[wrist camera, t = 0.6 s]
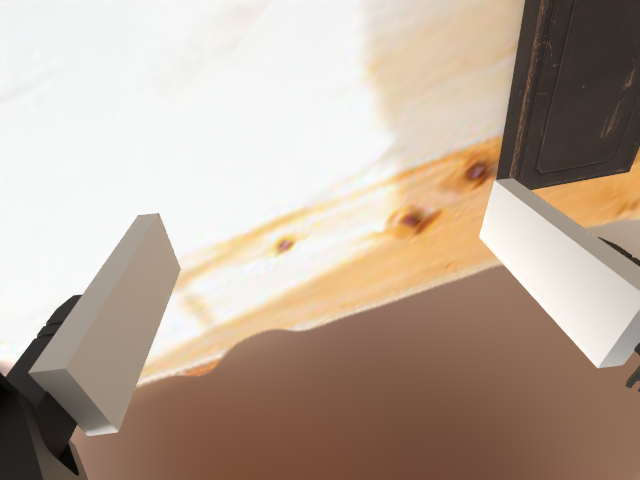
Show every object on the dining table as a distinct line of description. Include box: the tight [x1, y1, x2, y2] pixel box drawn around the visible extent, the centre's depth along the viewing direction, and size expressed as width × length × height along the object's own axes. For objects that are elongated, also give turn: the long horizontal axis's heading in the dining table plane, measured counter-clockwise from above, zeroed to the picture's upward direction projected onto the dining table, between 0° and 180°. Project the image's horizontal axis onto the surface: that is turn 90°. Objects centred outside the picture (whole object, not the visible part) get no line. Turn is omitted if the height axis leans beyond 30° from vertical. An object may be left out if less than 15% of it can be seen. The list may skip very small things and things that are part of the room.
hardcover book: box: [496, 0, 640, 190], centre depth 35 cm, size 16×23×2 cm
